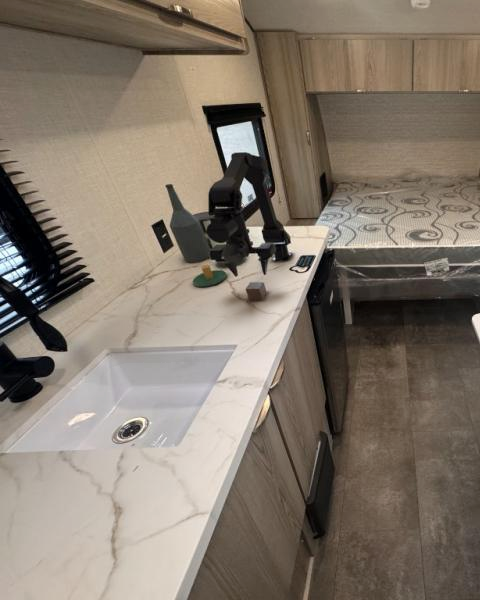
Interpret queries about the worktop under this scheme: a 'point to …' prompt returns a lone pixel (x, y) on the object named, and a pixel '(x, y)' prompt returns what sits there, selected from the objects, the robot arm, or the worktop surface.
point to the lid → (209, 277)
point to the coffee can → (205, 221)
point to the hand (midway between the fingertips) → (251, 275)
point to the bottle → (187, 231)
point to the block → (256, 291)
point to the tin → (235, 263)
